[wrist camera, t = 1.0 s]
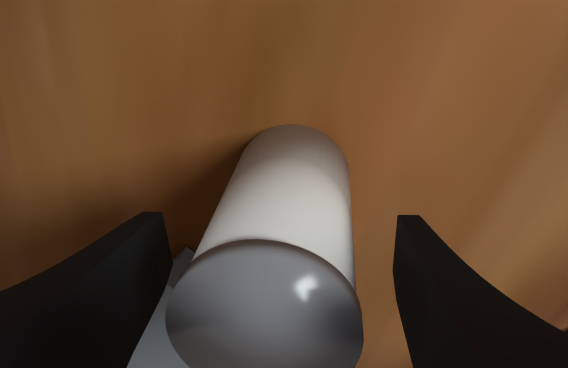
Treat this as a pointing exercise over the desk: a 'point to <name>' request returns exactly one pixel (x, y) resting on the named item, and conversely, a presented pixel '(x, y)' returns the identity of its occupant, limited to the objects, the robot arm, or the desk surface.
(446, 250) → the robot arm
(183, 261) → the tray
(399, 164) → the desk surface
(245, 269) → the shaker
